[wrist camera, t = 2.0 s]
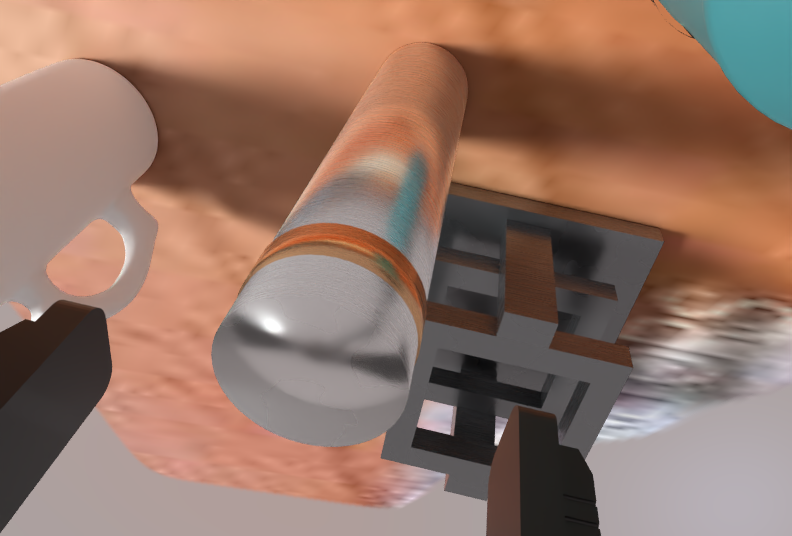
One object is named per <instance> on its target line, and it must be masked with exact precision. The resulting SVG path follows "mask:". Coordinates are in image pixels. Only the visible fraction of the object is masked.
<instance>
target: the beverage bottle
mask: <svg viewBox="0 0 792 536" xmlns="http://www.w3.org/2000/svg"><path fill="white" fill-rule="evenodd" d="M651 1H653V2H654V0H651ZM659 1H660V3H661V4H662V5H663V6H664V7H665V9H666V10H667V11H668V12H669V13H670V14H671V16H672V17H673V18H674V19H675V20H676V21H678V22H679V23H680V24H681V25H682V26H683V27H684V28H685V29H686V30H687V31H688V33H689V34H690V35H691V36H692V37H691V38H694V39H696V40H697V41H698V42H699V43H700V44H701V45H702V46H703V48H704V49H705V50H706V51H707V52H708V53H709V54H710V55H711V56H712V57H713V58H714V60H715V61H716V62H717V63H718V64H719V65H720V67H721V69H722V71H723V72H724V74H725V76H726V77H727V78H728V80H729V81H730V82H731V84H732V85H733V86H734V88H735V89H736V90H737V91H738V93H739V94H741V95H742V96H743V97H744V98H745V99H746V100H747V101H748V102H749V103H750V104H751V105H752V106H753V107H755V108H756V109H757V110H758V111H760V112H761V113H763V114H764V115H766V116H767V117H769V118H770V119H772V120H773V121H775V122H776V123H779V124H781V125H783V126H785V127H787V128H789V129H791V130H792V0H659ZM654 3H655V2H654ZM655 5H656V4H655ZM661 15H662V14H661ZM665 20H666V19H665ZM671 26H672V25H671ZM677 31H678V30H677ZM679 32H680V31H679ZM681 33H682V32H681ZM683 34H684V33H683ZM688 37H690V36H688Z"/></svg>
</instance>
